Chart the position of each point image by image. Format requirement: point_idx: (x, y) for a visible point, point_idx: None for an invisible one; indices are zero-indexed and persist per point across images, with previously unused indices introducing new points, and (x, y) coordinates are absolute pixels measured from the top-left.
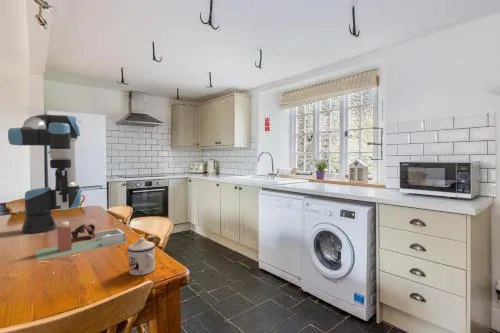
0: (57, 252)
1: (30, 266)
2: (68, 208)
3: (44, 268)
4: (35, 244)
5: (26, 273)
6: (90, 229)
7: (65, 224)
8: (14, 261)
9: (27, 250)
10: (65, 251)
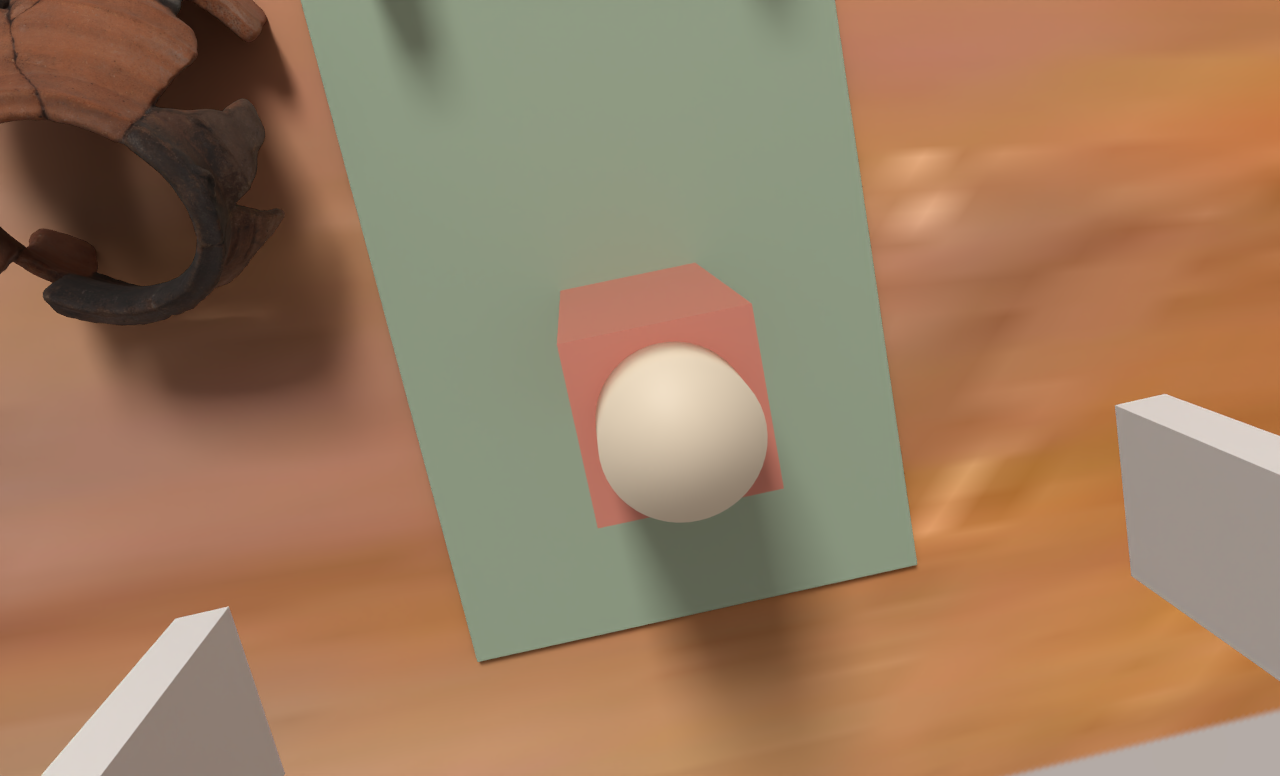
0: None
1: (1042, 592)
2: (1189, 405)
3: None
4: None
5: None
6: (151, 5)
7: (757, 400)
8: (781, 762)
9: (416, 735)
10: None
